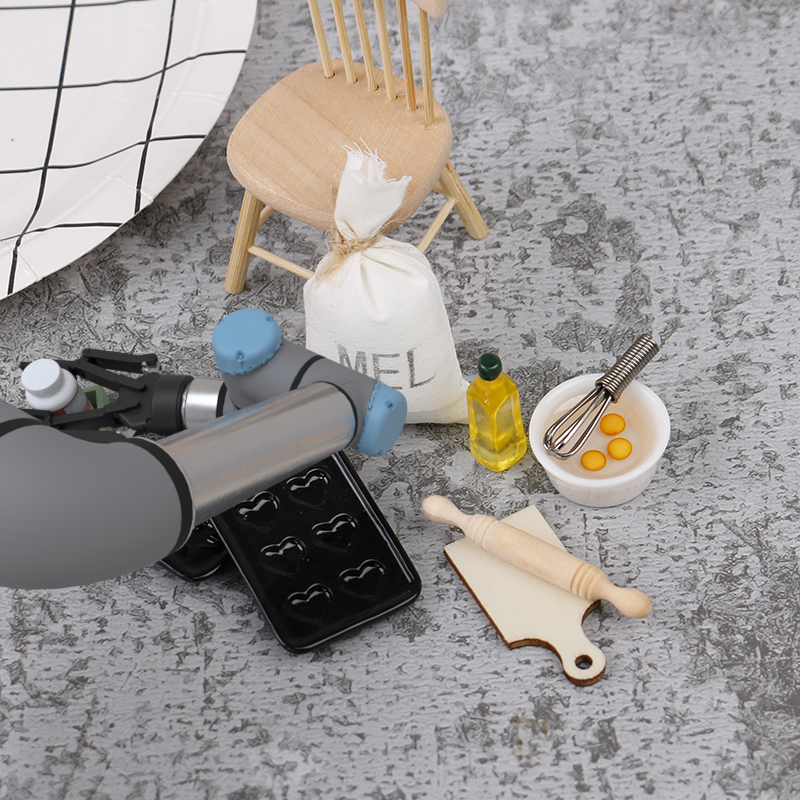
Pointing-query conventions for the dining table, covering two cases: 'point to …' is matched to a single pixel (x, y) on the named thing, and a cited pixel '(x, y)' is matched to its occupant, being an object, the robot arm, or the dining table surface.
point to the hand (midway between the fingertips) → (14, 392)
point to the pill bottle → (53, 388)
